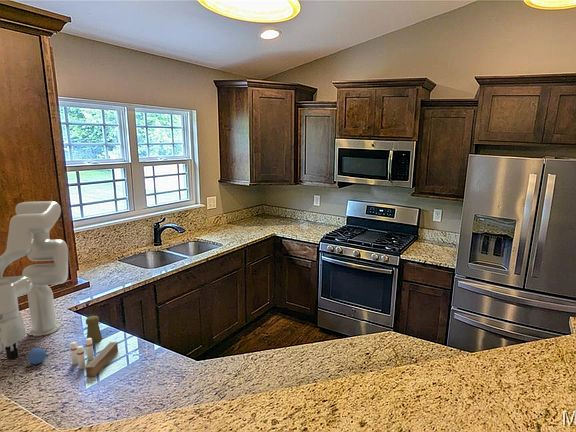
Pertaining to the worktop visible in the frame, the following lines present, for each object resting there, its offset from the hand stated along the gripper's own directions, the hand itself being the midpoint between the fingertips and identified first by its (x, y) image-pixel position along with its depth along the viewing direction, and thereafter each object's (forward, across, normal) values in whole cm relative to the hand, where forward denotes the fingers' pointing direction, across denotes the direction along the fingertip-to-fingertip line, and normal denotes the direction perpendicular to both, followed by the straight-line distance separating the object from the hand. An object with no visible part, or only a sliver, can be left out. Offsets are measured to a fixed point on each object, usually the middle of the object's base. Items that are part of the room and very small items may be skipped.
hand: (12, 358), depth 143 cm
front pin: (+2, 0, -24) cm, 24 cm away
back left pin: (+2, +3, -29) cm, 29 cm away
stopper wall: (+2, 0, -35) cm, 35 cm away
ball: (-1, 0, -9) cm, 9 cm away
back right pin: (+2, -3, -29) cm, 29 cm away
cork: (+2, +18, -22) cm, 29 cm away
